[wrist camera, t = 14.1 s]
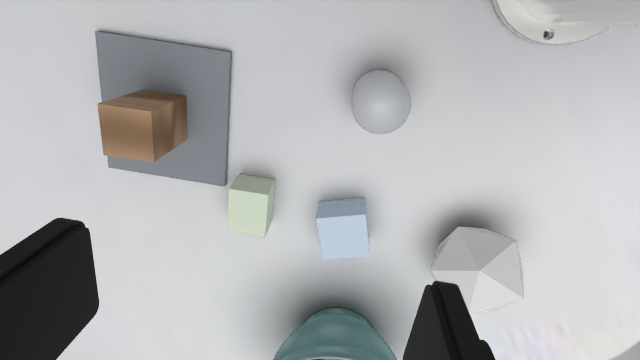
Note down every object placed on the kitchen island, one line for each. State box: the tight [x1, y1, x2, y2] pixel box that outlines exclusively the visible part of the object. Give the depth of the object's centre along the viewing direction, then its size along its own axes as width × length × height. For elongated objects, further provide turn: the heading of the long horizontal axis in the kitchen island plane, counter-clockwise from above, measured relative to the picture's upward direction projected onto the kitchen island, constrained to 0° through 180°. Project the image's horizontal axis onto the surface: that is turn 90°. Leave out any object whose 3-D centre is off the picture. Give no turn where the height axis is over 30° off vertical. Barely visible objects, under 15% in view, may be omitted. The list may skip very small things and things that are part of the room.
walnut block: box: [98, 90, 188, 162], centre depth 34 cm, size 4×4×7 cm
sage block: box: [227, 174, 276, 238], centre depth 39 cm, size 5×4×4 cm
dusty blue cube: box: [316, 197, 370, 260], centre depth 40 cm, size 5×5×4 cm
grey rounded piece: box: [352, 69, 411, 134], centre depth 34 cm, size 5×5×4 cm
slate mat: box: [95, 31, 232, 186], centre depth 38 cm, size 14×13×1 cm
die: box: [430, 226, 524, 315], centre depth 38 cm, size 8×9×10 cm
